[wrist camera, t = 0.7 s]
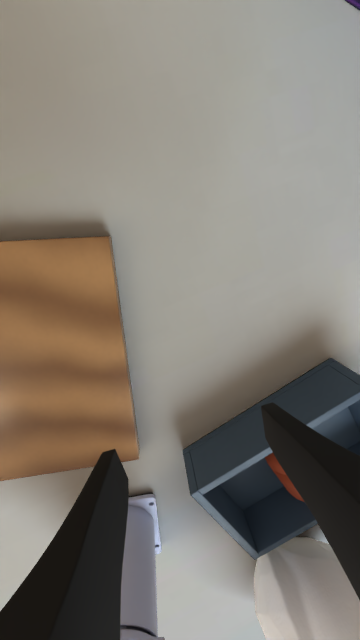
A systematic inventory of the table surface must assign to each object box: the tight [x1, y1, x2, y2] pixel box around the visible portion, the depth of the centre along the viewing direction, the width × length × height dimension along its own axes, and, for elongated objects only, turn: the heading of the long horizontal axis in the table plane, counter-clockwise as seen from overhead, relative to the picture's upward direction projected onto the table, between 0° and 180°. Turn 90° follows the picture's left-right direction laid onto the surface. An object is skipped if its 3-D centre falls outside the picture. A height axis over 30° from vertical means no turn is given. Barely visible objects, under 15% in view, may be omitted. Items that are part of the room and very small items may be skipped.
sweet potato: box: [265, 453, 304, 502], centre depth 23 cm, size 8×4×4 cm, turn 33°
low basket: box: [183, 358, 360, 560], centre depth 24 cm, size 18×13×5 cm
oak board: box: [0, 236, 140, 481], centre depth 19 cm, size 20×14×1 cm
